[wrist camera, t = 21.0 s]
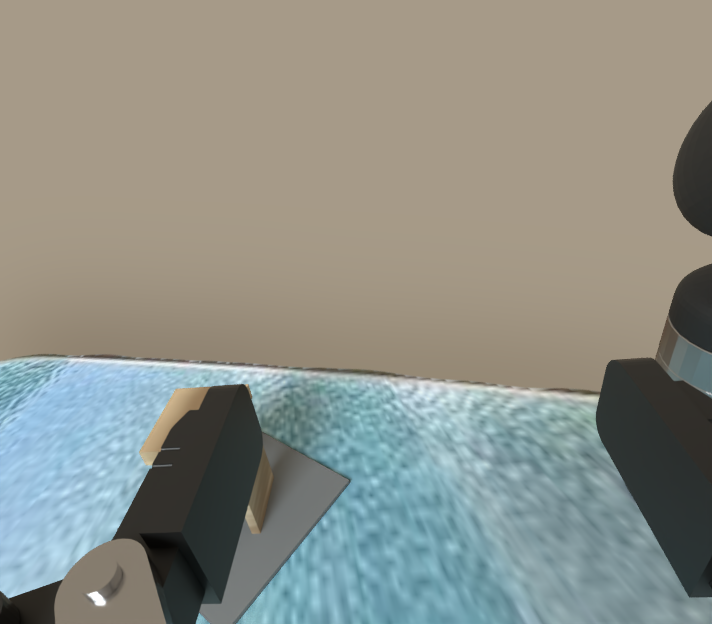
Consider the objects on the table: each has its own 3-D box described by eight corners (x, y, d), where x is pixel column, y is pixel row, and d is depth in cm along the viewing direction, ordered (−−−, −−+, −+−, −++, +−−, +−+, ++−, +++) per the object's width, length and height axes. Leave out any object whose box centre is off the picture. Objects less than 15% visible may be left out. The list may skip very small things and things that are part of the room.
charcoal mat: (243, 423, 53) (243, 421, 52) (349, 482, 44) (349, 480, 44) (118, 531, 42) (117, 529, 42) (224, 637, 33) (222, 635, 33)
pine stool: (276, 472, 45) (248, 384, 39) (261, 539, 39) (223, 448, 33) (213, 475, 46) (175, 388, 40) (188, 541, 40) (139, 452, 34)
